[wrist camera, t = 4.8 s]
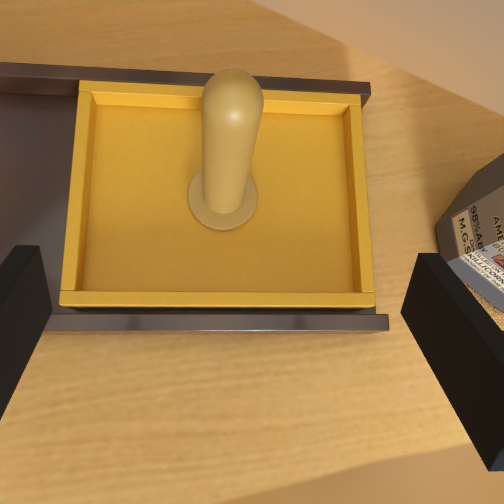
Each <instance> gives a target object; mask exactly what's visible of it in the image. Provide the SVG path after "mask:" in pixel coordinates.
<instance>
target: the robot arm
mask: <svg viewBox="0 0 504 504" xmlns="http://www.w3.org/2000/svg"><path fill="white" fill-rule="evenodd" d="M52 312H53V308H52V304H51V299H50V294H49V289H48V284H47V280H46V275H45V270H44V265H43V260H42V256H41V251H40V246H39V245H15V246H14V247H13V249H12V250H11V251H10V253H9V254H8V255H7V257H6V258H5V260H4V261H3V262H2V264H1V265H0V420H1V418H2V416H3V413H4V411H5V409H6V407H7V405H8V403H9V401H10V399H11V397H12V395H13V393H14V391H15V388H16V386H17V384H18V382H19V380H20V378H21V376H22V374H23V372H24V370H25V368H26V366H27V364H28V361H29V359H30V357H31V355H32V353H33V351H34V349H35V347H36V345H37V343H38V341H39V339H40V337H41V334H42V332H43V330H44V328H45V326H46V324H47V322H48V320H49V318H50V316H51V314H52ZM400 313H401V315H402V317H403V318H404V320H405V322H406V324H407V326H408V327H409V329H410V331H411V333H412V335H413V336H414V338H415V340H416V342H417V344H418V345H419V347H420V349H421V351H422V353H423V354H424V356H425V358H426V360H427V362H428V363H429V365H430V367H431V369H432V371H433V372H434V374H435V376H436V378H437V380H438V381H439V383H440V385H441V387H442V389H443V390H444V392H445V394H446V396H447V398H448V399H449V401H450V403H451V405H452V407H453V408H454V410H455V412H456V414H457V416H458V417H459V419H460V421H461V423H462V425H463V427H464V428H465V430H466V432H467V434H468V436H469V437H470V439H471V441H472V443H473V445H474V446H475V448H476V450H477V452H478V454H479V455H480V457H481V459H482V461H483V463H484V464H485V466H486V468H487V470H488V471H504V331H502V330H501V329H500V328H499V327H498V325H497V324H496V323H495V322H494V320H493V319H492V318H491V317H490V315H489V314H488V313H487V312H486V311H485V309H484V308H483V307H482V306H481V304H480V303H479V302H478V301H477V299H476V298H475V297H474V296H473V295H472V293H471V292H470V291H469V290H468V288H467V287H466V286H465V285H464V284H463V282H462V281H461V280H460V279H459V277H458V276H457V275H456V274H455V272H454V271H453V270H452V269H451V268H450V266H449V265H448V264H447V263H446V261H445V260H444V259H443V258H442V256H441V255H440V254H439V253H418V256H417V260H416V263H415V266H414V270H413V273H412V276H411V279H410V283H409V286H408V289H407V293H406V296H405V299H404V302H403V306H402V309H401V312H400Z"/></svg>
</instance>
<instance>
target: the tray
mask: <svg viewBox="0 0 504 504" xmlns="http://www.w3.org/2000/svg"><path fill="white" fill-rule="evenodd" d="M60 289H61V291H60V298H59V305H61V306H64V307H67V308H69V309H132V310H364V309H367V308H370V307H374V306H375V294H374V279H373V265H372V251H371V237H370V223H369V209H368V195H367V181H366V168H365V154H364V140H363V126H362V112H361V97H360V94H340V93H321V92H302V91H282V90H263V89H261V88H260V86H259V84H258V83H257V81H256V80H255V79H254V78H253V77H252V76H251V75H249V74H248V73H246V72H244V71H241V70H238V69H227V70H223V71H220V72H218V73H216V74H215V75H214V76H212V77H211V78H210V79H209V81H208V82H207V83H206V85H205V86H186V85H166V84H147V83H128V82H108V81H89V80H80V81H79V93H78V104H77V115H76V126H75V137H74V148H73V158H72V169H71V180H70V191H69V202H68V213H67V223H66V234H65V245H64V256H63V267H62V278H61V288H60Z"/></svg>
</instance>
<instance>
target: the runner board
mask: <svg viewBox="0 0 504 504" xmlns="http://www.w3.org/2000/svg"><path fill="white" fill-rule="evenodd" d="M214 75H215V74H210V73H192V72H174V71H155V70H137V69H119V68H100V67H82V66H64V65H46V64H27V63H9V62H0V265H1V264H2V262H3V261H4V260H5V258H6V257H7V255H8V254H9V253H10V251H11V250H12V249H13V247H14V246H15V245H39V246H40V251H41V256H42V260H43V265H44V270H45V275H46V280H47V284H48V289H49V294H50V299H51V304H52V308H53V312H52V314H51V316H50V318H49V320H48V322H47V324H46V326H45V328H44V330H43V332H42V334H41V335H65V334H372V333H378V332H384V331H389V318H388V314H376V307H375V306H374V307H370V308H367V309H364V310H132V309H69V308H67V307H64V306H61V305H59V298H60V291H61V289H60V288H61V278H62V267H63V256H64V245H65V234H66V223H67V213H68V202H69V191H70V180H71V169H72V158H73V148H74V137H75V126H76V115H77V104H78V93H79V81H80V80H89V81H108V82H128V83H147V84H166V85H186V86H205V85H206V83H207V82H208V81H209V79H210V78H211V77H212V76H214ZM252 77H253V78H254V79H255V80H256V81H257V83H258V84H259V86H260V88H261V89H263V90H282V91H302V92H321V93H340V94H360V97H361V110H362V108H363V107H364V105H365V104H366V102H367V100H368V99H369V97H370V95H371V87H370V82H357V81H338V80H320V79H302V78H283V77H265V76H252ZM374 294H375V293H374Z"/></svg>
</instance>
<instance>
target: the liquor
mask: <svg viewBox="0 0 504 504" xmlns="http://www.w3.org/2000/svg"><path fill="white" fill-rule="evenodd" d="M436 234H437V239H438V245H439V250H440V255H441V256H442V258H443V259H444V260H445V261H446V263H447V264H448V265H449V266H450V268H451V269H452V270H453V271H454V272H455V274H456V275H457V276H458V277H459V278H460V279H461V280H462V281H463V282H465V283H466V284H467V285H468V286H470V287H471V288H472V289H473V290H474V291H476V292H477V293H478V294H479V295H481V296H482V297H483V298H484V299H486V300H487V301H488V302H489V303H491V304H492V305H493V306H494V307H495V308H497V309H498V310H500V311H501V312H503V313H504V153H503V154H502V155H500V156H499V157H498V158H496V159H495V160H493V161H492V162H490V163H489V164H487V165H486V166H485V167H483V168H482V169H480V170H479V171H477V172H476V173H475V174H474V175H473V177H472V178H471V179H470V181H469V182H468V183H467V185H466V186H465V187H464V189H463V190H462V191H461V192H460V194H459V195H458V196H457V198H456V199H455V200H454V202H453V203H452V204H451V206H450V207H449V208H448V210H447V211H446V212H445V214H444V215H443V216H442V218H441V219H440V220H439V222H438V223H437V224H436Z"/></svg>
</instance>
